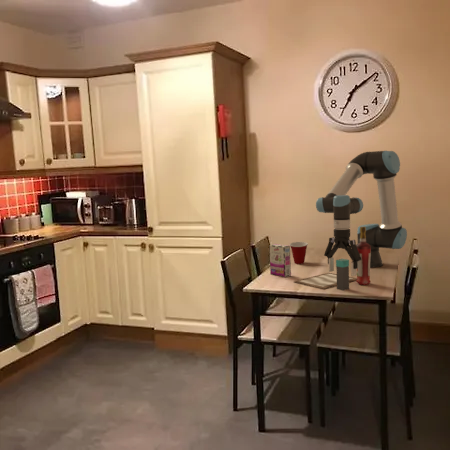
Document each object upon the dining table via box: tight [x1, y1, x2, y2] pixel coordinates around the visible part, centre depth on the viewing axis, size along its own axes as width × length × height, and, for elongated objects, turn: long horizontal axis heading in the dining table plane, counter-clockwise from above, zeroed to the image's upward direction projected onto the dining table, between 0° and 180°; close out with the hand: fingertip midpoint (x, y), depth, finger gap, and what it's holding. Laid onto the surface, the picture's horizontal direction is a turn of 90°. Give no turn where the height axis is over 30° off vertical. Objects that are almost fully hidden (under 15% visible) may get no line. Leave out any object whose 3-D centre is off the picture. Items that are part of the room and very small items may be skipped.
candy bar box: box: [269, 243, 292, 278], centre depth 275 cm, size 11×5×16 cm, turn 40°
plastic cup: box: [289, 241, 309, 265], centre depth 303 cm, size 11×11×12 cm
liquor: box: [355, 227, 372, 286], centre depth 248 cm, size 7×7×28 cm
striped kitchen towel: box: [293, 272, 357, 290], centre depth 258 cm, size 26×20×1 cm
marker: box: [335, 258, 350, 291], centre depth 241 cm, size 4×4×14 cm
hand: (342, 273), depth 241 cm, fingers open, 13 cm apart
